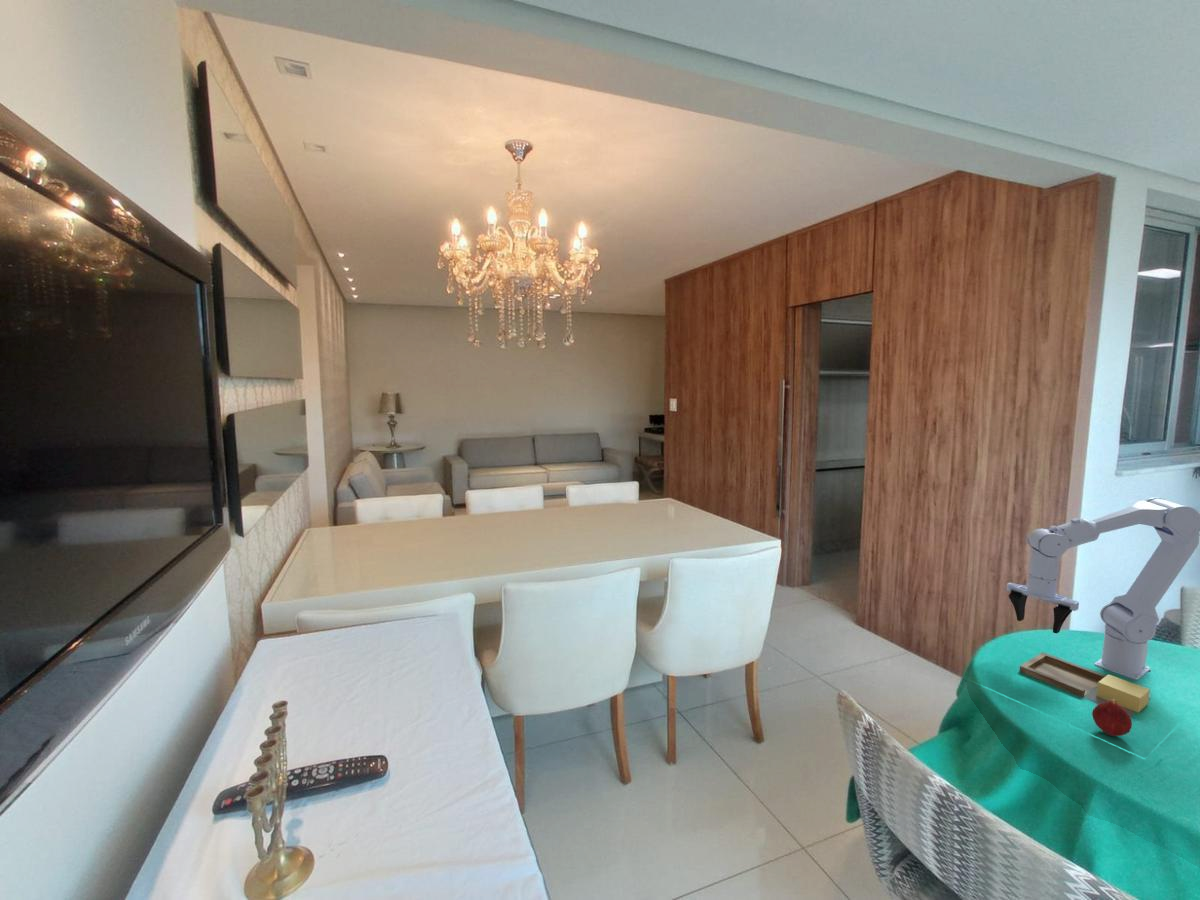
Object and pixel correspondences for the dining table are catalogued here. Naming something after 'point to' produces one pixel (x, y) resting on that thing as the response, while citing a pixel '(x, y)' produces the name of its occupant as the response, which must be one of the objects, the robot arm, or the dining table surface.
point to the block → (1123, 692)
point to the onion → (1112, 718)
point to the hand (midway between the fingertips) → (1037, 625)
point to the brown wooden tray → (1062, 674)
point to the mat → (1103, 700)
